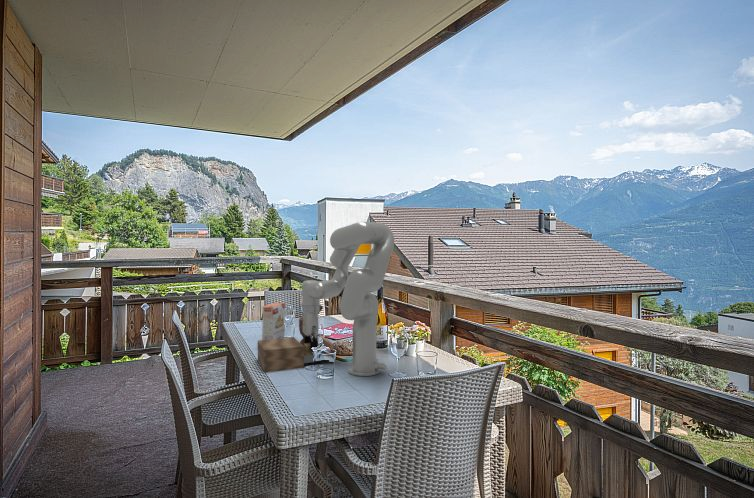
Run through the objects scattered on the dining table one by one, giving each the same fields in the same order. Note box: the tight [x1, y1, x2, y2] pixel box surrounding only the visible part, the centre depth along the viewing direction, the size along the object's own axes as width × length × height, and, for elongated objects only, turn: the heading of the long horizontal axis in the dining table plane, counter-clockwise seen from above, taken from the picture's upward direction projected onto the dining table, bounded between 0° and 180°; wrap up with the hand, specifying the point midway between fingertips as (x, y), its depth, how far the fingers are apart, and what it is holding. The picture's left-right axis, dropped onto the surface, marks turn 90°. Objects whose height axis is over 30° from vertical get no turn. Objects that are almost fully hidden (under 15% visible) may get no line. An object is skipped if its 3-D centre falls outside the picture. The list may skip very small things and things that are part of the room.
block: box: [304, 343, 313, 356], centre depth 188 cm, size 5×5×5 cm
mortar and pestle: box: [298, 304, 324, 346], centre depth 217 cm, size 12×9×20 cm
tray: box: [304, 334, 335, 364], centre depth 187 cm, size 16×18×8 cm
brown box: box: [257, 336, 305, 373], centre depth 182 cm, size 16×18×9 cm
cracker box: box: [261, 302, 286, 340], centre depth 211 cm, size 14×6×21 cm, turn 168°
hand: (311, 347), depth 188 cm, fingers open, 9 cm apart
